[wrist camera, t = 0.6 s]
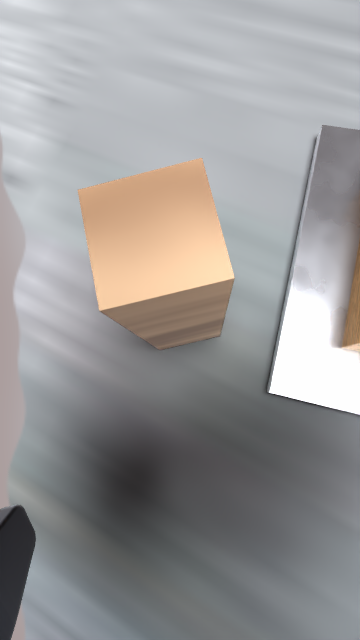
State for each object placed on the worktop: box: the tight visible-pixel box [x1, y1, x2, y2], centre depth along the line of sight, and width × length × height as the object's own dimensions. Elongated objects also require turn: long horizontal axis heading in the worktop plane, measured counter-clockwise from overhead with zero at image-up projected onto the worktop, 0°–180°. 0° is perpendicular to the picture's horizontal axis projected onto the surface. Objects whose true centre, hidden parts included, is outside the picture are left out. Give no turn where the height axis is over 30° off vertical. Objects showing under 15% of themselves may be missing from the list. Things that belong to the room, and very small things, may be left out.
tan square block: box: [78, 158, 235, 350], centre depth 16 cm, size 4×4×12 cm
